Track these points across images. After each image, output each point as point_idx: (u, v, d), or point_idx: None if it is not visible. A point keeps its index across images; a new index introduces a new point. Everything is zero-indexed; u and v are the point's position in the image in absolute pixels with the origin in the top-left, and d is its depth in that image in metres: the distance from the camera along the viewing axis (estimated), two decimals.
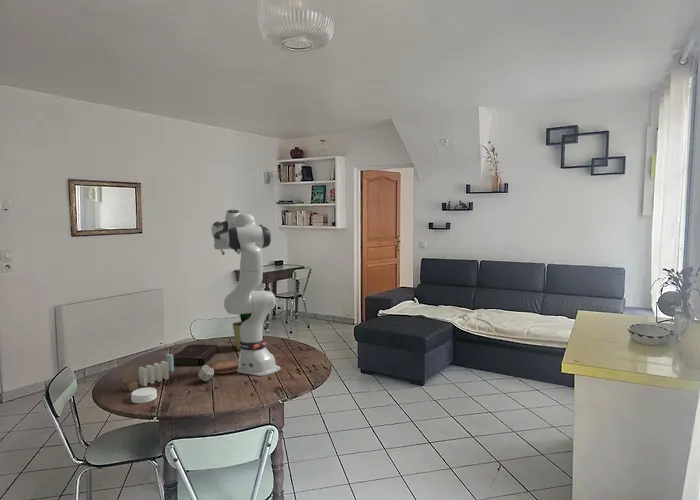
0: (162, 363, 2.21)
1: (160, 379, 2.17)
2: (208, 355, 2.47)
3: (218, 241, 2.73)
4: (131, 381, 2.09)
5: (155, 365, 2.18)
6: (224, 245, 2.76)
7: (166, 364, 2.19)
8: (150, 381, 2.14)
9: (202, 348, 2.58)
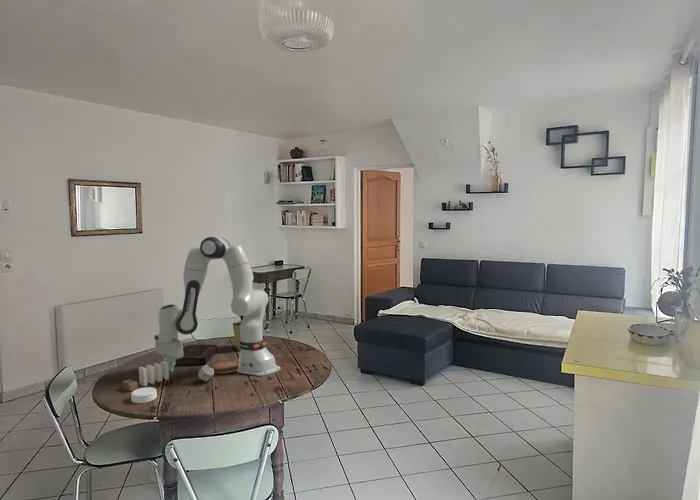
0: (162, 363, 2.21)
1: (160, 379, 2.17)
2: (209, 355, 2.48)
3: None
4: (131, 381, 2.09)
5: (155, 365, 2.18)
6: None
7: (166, 364, 2.19)
8: (150, 381, 2.14)
9: (202, 348, 2.58)
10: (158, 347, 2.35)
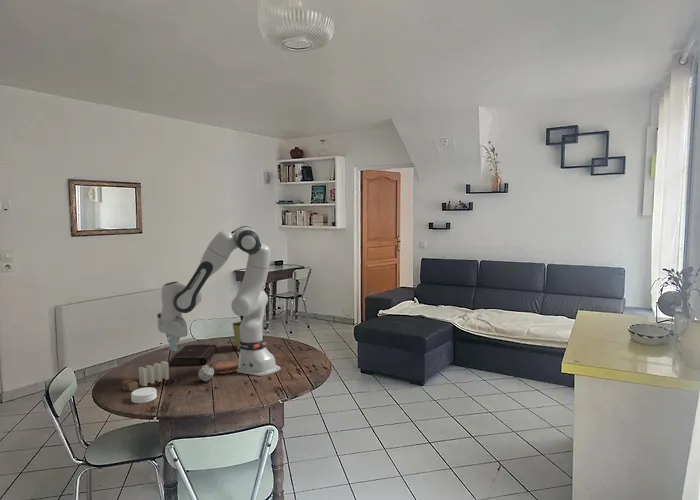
0: (162, 363, 2.21)
1: (160, 379, 2.17)
2: (209, 355, 2.48)
3: None
4: (131, 381, 2.09)
5: (155, 365, 2.18)
6: None
7: (166, 364, 2.19)
8: (150, 381, 2.14)
9: (201, 348, 2.58)
10: (161, 326, 2.26)
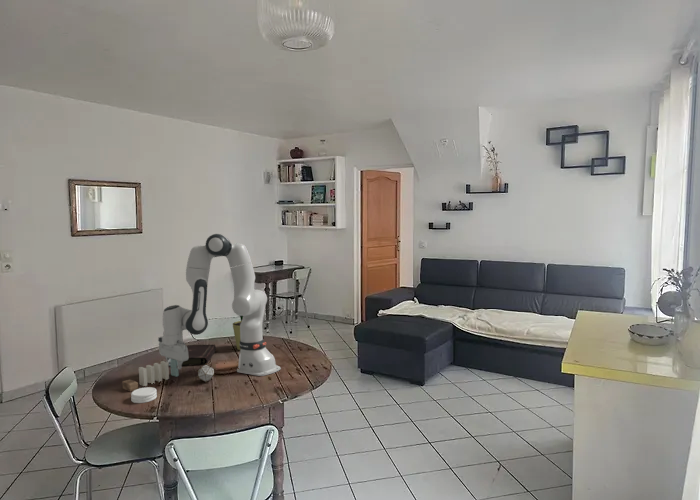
0: (162, 363, 2.21)
1: (160, 379, 2.17)
2: (209, 354, 2.49)
3: None
4: (131, 381, 2.09)
5: (155, 365, 2.18)
6: None
7: (166, 364, 2.19)
8: (150, 381, 2.14)
9: (201, 348, 2.58)
10: (162, 349, 2.27)
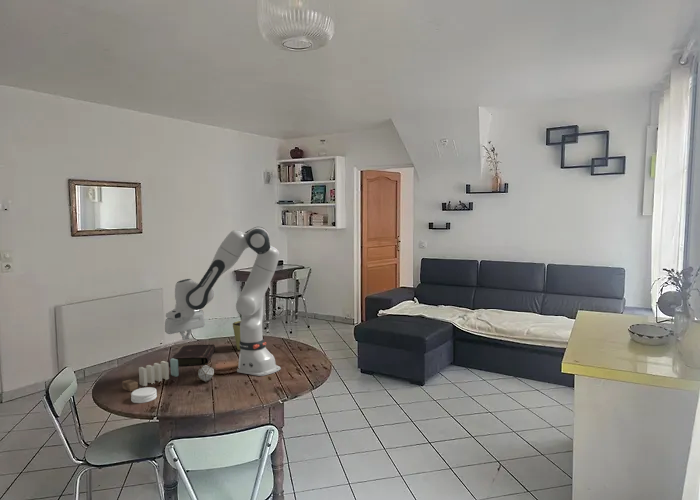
0: (162, 363, 2.21)
1: (160, 379, 2.17)
2: (209, 354, 2.49)
3: None
4: (131, 381, 2.09)
5: (155, 365, 2.18)
6: None
7: (166, 364, 2.19)
8: (150, 381, 2.14)
9: (200, 348, 2.58)
10: (175, 326, 2.23)
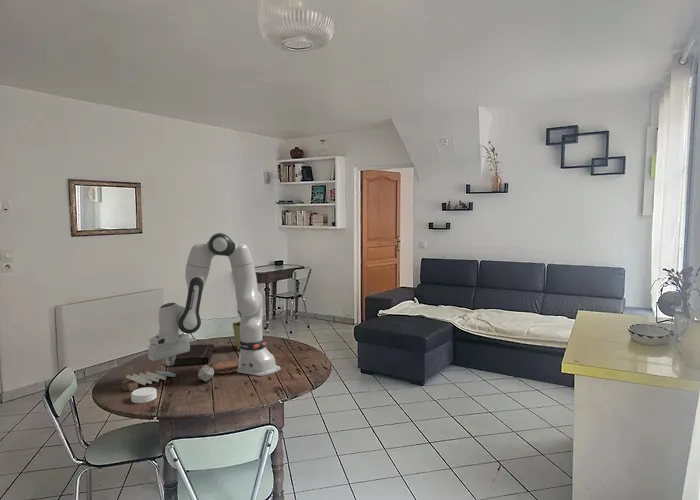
0: (148, 375, 2.15)
1: (157, 380, 2.16)
2: (209, 354, 2.49)
3: None
4: (131, 381, 2.09)
5: (141, 376, 2.13)
6: None
7: (152, 375, 2.14)
8: None
9: (200, 348, 2.58)
10: (158, 352, 2.17)
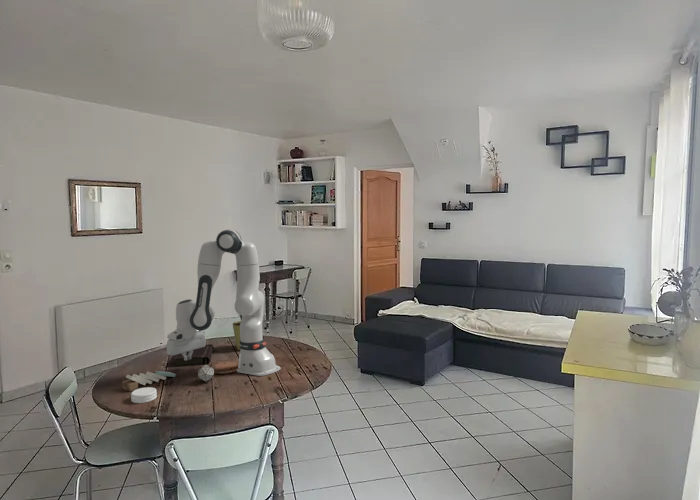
0: (148, 375, 2.15)
1: (157, 380, 2.16)
2: (210, 354, 2.50)
3: None
4: (131, 381, 2.09)
5: (141, 376, 2.13)
6: None
7: (152, 375, 2.14)
8: None
9: (199, 348, 2.58)
10: (176, 347, 2.24)
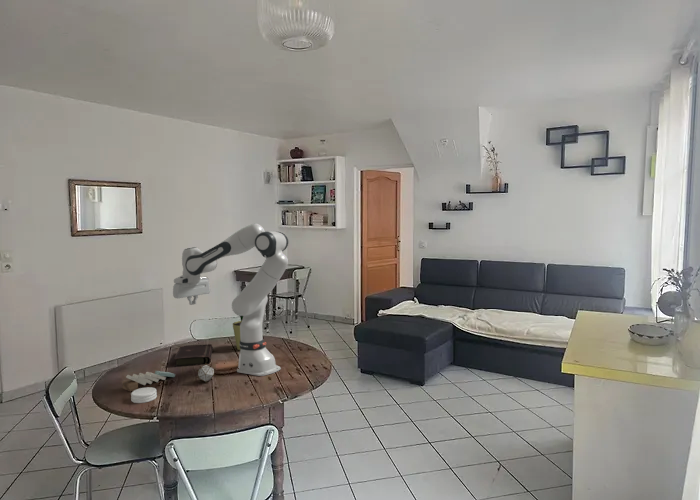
0: (148, 375, 2.15)
1: (156, 380, 2.16)
2: (210, 354, 2.50)
3: None
4: (131, 381, 2.09)
5: (141, 376, 2.13)
6: None
7: (152, 375, 2.14)
8: None
9: (199, 348, 2.58)
10: (182, 291, 2.37)
